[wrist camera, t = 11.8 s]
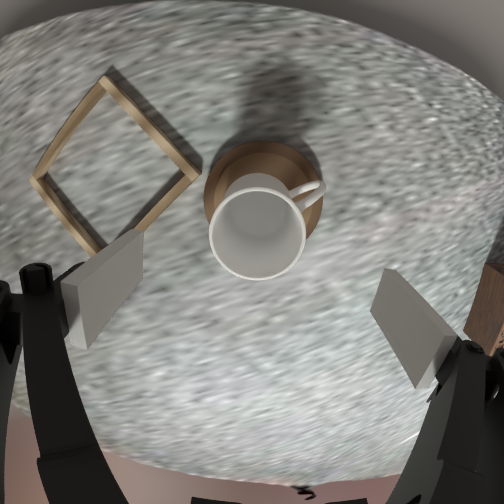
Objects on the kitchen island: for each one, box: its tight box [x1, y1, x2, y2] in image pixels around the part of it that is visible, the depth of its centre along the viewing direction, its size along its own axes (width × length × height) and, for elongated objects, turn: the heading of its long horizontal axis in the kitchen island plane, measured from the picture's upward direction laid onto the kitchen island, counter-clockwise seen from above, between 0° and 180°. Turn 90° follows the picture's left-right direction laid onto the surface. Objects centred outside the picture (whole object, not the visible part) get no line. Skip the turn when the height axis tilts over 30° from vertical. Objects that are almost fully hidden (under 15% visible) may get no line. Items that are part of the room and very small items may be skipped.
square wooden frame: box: [29, 75, 201, 257], centre depth 36 cm, size 20×20×2 cm
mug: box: [209, 173, 326, 280], centre depth 30 cm, size 12×8×12 cm
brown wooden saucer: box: [204, 141, 323, 239], centre depth 37 cm, size 15×15×3 cm
